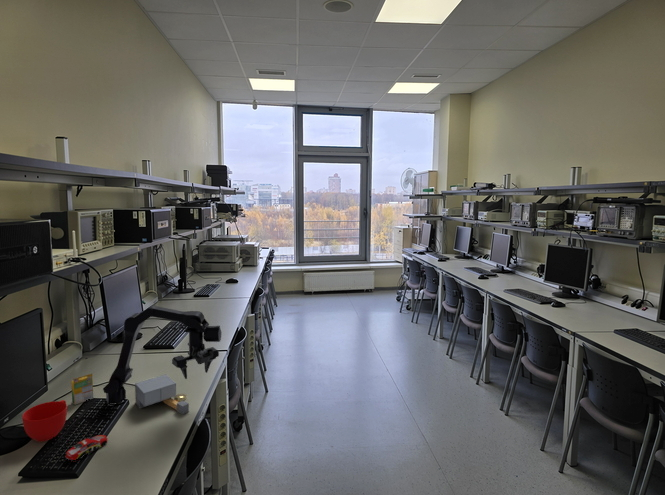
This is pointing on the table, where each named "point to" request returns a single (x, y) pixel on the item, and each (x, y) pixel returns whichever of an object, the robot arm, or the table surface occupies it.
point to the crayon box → (82, 389)
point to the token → (180, 397)
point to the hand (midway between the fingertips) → (196, 375)
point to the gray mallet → (178, 405)
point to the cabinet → (154, 390)
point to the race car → (86, 447)
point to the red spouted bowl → (45, 420)
